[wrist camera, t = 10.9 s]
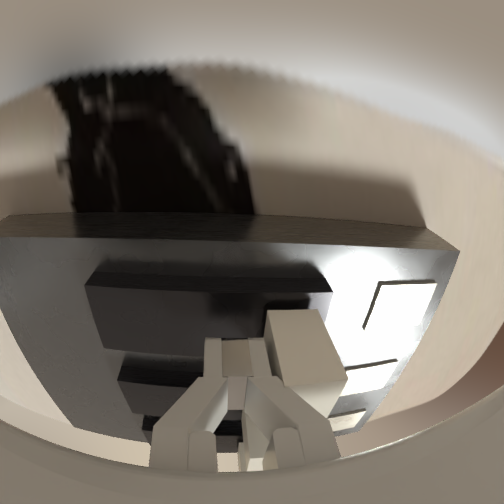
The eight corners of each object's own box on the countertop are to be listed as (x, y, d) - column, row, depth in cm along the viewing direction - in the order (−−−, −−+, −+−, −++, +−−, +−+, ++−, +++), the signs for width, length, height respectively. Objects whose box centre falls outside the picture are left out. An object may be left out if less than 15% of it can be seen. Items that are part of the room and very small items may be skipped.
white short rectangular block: (237, 453, 15) (241, 492, 12) (238, 442, 14) (242, 486, 11) (263, 452, 15) (269, 490, 12) (267, 441, 14) (274, 483, 11)
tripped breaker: (260, 354, 10) (273, 424, 7) (267, 310, 9) (284, 386, 6) (305, 351, 10) (326, 418, 7) (317, 309, 9) (348, 378, 6)
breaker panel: (82, 400, 18) (71, 436, 14) (8, 215, 10) (-35, 245, 7) (348, 405, 21) (362, 440, 17) (427, 228, 13) (472, 260, 10)
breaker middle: (241, 420, 12) (246, 472, 10) (243, 399, 11) (250, 458, 9) (274, 418, 13) (284, 469, 10) (281, 397, 12) (293, 454, 9)
